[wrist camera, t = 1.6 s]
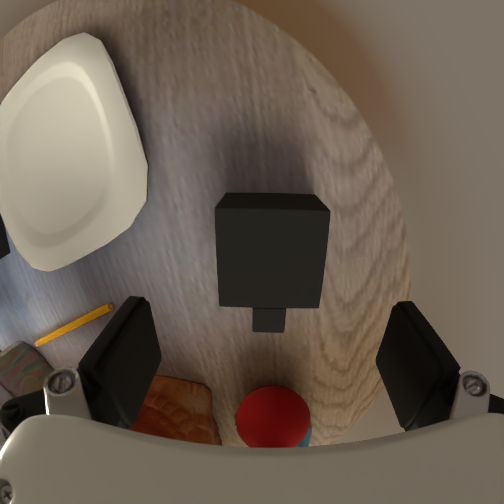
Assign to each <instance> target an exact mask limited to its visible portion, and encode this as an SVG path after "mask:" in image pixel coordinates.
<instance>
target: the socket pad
mask: <svg viewBox="0 0 504 504" xmlns="http://www.w3.org/2000/svg"><path fill="white" fill-rule="evenodd" d="M9 253H10V249H9V245H8V241H7V236H6V232H5V227H4V222H3V219H2V217H1V214H0V259H1V258H3V257H4V256H6V255H7V254H9Z"/></svg>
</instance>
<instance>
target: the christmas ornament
mask: <svg viewBox="0 0 504 504" xmlns="http://www.w3.org/2000/svg"><path fill="white" fill-rule="evenodd" d="M309 426H310V412H309V408H308V406H307V404H306V402H305V401H304V400H303V398H302V397H301V396H300V395H298V394H297V393H296V392H294V391H292V390H290V389H288V388H285V387H281V386H268V387H263V388H260V389H257V390H255V391H253V392H252V393H250V394H249V395H248V396H247V397H246V398H245V399H244V400H243V401H242V402H241V404H240V406H239V408H238V410H237V414H236V427H237V431H238V434H239V435H240V437H241V439H242V440H243V441H244V442H245V443H246V444H247V445H248V446H249V447H254V448H290V447H295V446H297V445H298V444H299V443H300V442H301V441H302V440H303V439H304V437H305V436H306V434H307V432H308V430H309Z"/></svg>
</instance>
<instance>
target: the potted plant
mask: <svg viewBox="0 0 504 504" xmlns="http://www.w3.org/2000/svg"><path fill="white" fill-rule="evenodd" d="M51 371H53V368H52V367H51V366H50V365H49V364H48V363H47V362H46V360H45V359H44V358H43V357H42V356H41V355H40V354H39V353H38V352H37V351H36V350H34V349H33V348H32V347H30V346H29V345H27V344H25V343H24V342H18V341H17V342H15V343H14V344H12V345H11V346H9V347H7V348H6V349H4V350H3V351H1V352H0V410H1V407H2V406H3V404H4V403H5V402H7V401H8V400H10V399H12V398H16V397H19V396H22V395H25V394H28V393H32V392H35V391H38V390H41V389H44V380H45V378H46V376H47V375H48V374H49V373H50V372H51Z"/></svg>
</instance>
